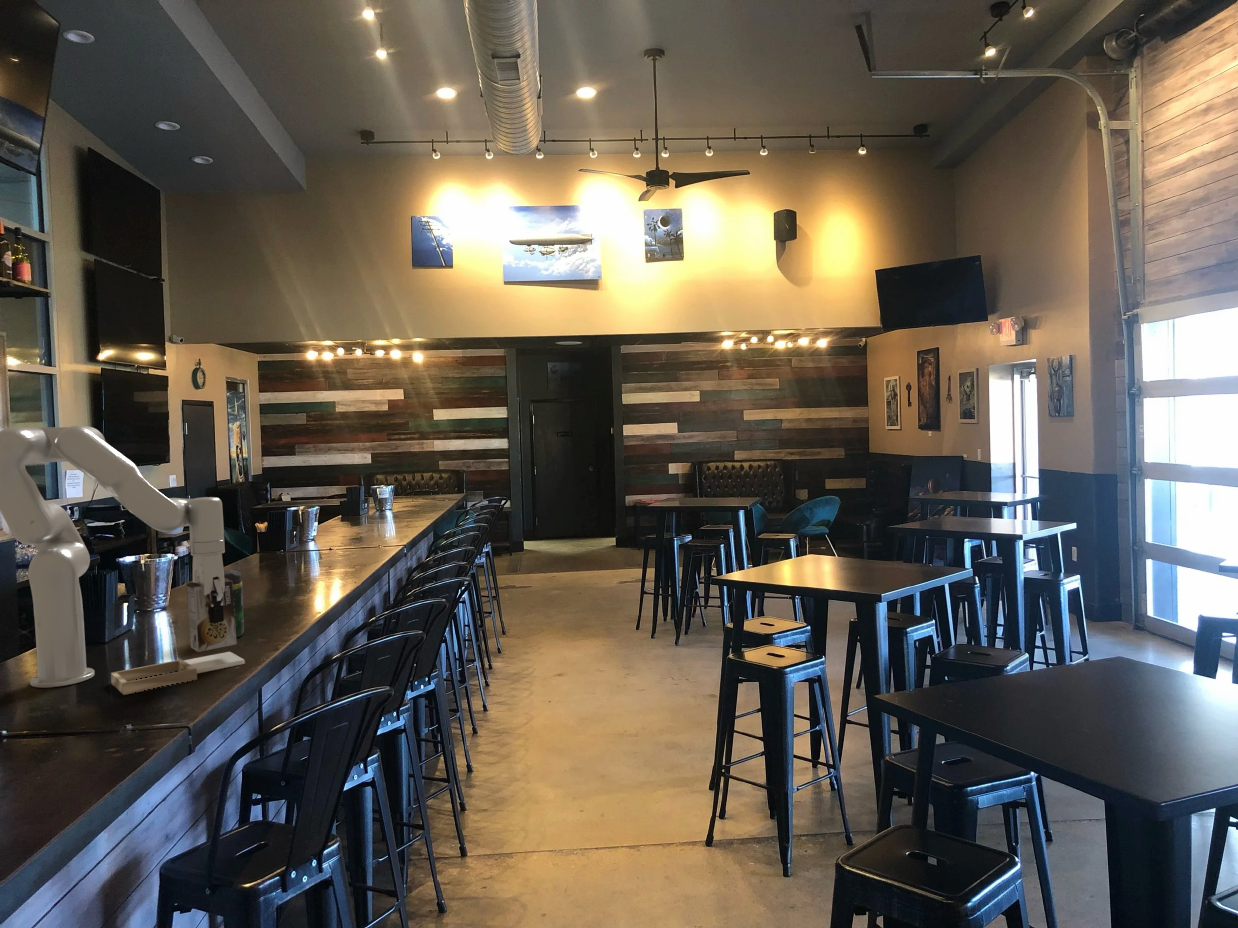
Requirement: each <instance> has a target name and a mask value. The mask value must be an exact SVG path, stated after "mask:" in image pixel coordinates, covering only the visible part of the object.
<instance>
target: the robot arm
mask: <svg viewBox="0 0 1238 928" xmlns="http://www.w3.org/2000/svg"><path fill="white" fill-rule="evenodd" d="M57 462H58V463H65V462H66V463H67V462H68V464H70V465H72V466H73V467H75V468H76V469H77V470H79V471H80V472H82V473H83V474H84V475H86V476H87V477H89V479H91V480H92V481H94V482H95V483H96V484H98V485H99V486H100V487H102V488H103V489H104V490H106V491H107V492H108V493H109V494H110V496H112V497H113V498H114V500H116V501H117V502H118V503H119V504H120V505H122V506H123V507H124V508H125V509H126V510H128V511H129V512H130V513H131V514H133V515H134V516H135V517H137V519H139V520H141V521H142V522H144V524H146V525H147V526H149V527H150V528H152V529H153V530H156V531H157V532H158V531H159V532H161V533H169V532H173V531H176V530H178V529H180V528H183V527H189V528H188V529H189V541H190V542H189V543H190V545H189V546H190V555H191V556H192V583H193V582H195V583H198V584H199V585H201V586H202V595H203V596H207V594H209V603H210V607H208V608H209V622H210V623H217V622H223V621H224V613H223V600H222V599H223V597H222V596H223V592H224V591H225V580H224V570H225V569H224V563H223V562H224V561H223V554H224V553H225V552H226V548H225V546H226V545H225V529H224V514H223V513H224V512H223V511H224V510H223V502H222V499H220V498H219V497H215V496H209V497H208V496H205V497H204V496H203V497H196V498H182V497H180V498H179V497H169V498H168V497H167V496H165V495H164V494H163V493H162V492H160V491H159V490H158V489H156V488H155V487H154V486H153V485H151V484H150V482H148V481H147V480H146V479H145V478H144V476H143V475H142V474H141V472H140V470H139V468H138V466H137V465H136V463H134V462H133V461H132V460H131V459H129V458H128V457H126V456H125V454H123V453H121V452H120V451H118V450H117V449H116V448H114V447H113V446H111V445H110V444H109V443H108V442H107V441H106V438H105V437H104V435H103V433H102V432H100V430H98V429H97V428H95V427H92V426H89V425H73V426H61V427H60V426H58V427H50V426H49V427H48V426H47V427H26V426H25V427H22V426H20V427H19V426H17V427H15V426H14V427H8V428H5V429H4V428H3V429H2V430H0V514H1V516H2V517H3V519H4V522H5V523H6V525H7V527H8V529H9V530H10V533H11V534H12V536H13V537H14V538H15V540H16V541H18V542H20V543H21V544H23V545H27V546H34V547H35V549H36V551H37V553H36V554H35V555H34V556H33V558H32V559H31V560H30V563H29V566H28V581H29V586H30V591H31V596H32V604H33V617H34V628H35V643H36V644H35V645H36V646H35V647H36V660H37V675H34V677H32V678H31V679H30V682H29V683H30V686H32V687H33V688H45V689H46V688H47V689H48V688H56V687H58V688H59V687H64V686H69V685H74V684H78V683H82V682H84V681H87V680H89V679H91V678H93V677H94V676H95V670H94V669H93V668H91V667H87V653H86V640H85V639H86V638H85V636H86V635H85V621H84V618H85V617H84V610H83V609H84V608H83V606H84V605H83V596H82V590H81V586H80V579H79V578H80V577H81V576H83V575H84V574H85V573H86V572H87V570H88V569H89V568H90V563H91V558H90V557H91V556H90V553H89V550H88V549H87V546H86V545H85V542H84V541H83V538H82V537H81V535H80V533H79V531H78V529H77V528H76V526H75V525H74V522H73V520H72V519H71V516H70V515H69V514H68V513H67V511H66V510H65V509H64V508H63V507H62V506H61V505H59V504H57V503H56V502H51V501H46V500H45V499H44V497H43V496H42V494H41V492H40V490H39V488H38V486H37V484H36V483H35V480H33V478H32V476H31V475H30V474H29V473H28V470H27V469H26V465H27V464H35V463H37V464H38V463H57ZM213 590H215V592H216V593H213V594H211V591H213ZM214 596H216V597H214ZM212 597H214V598H213V599H212Z"/></svg>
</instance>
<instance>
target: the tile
mask: <svg viewBox="0 0 1238 928" xmlns="http://www.w3.org/2000/svg"><path fill="white" fill-rule="evenodd" d="M183 661H185V662H186V663H188V664H190V665H191V666H193V667H194V668H196V669H197V674H201V673H207V672H211V671H217V670H221V669H224V668H230V667H235V666H240V665H245V664H246V661H245V659H244V658H242V657H241V656H238V655H237V654H235V653H233V652H231V651H226V652H225V651H224V652H222V653H221V652H220V653H215V654H210V655H205V656H199V657H194V658H190V659H185V660H183Z"/></svg>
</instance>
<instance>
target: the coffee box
mask: <svg viewBox="0 0 1238 928" xmlns="http://www.w3.org/2000/svg"><path fill="white" fill-rule="evenodd" d="M224 580H225V591H224V592H223V596H222V597H223V599H222V600H223V613H224V621H223V622H217V623H210V622H209V608H208V607H210V603H209V594H207V596H203V595H202V586H201V585H199V584H198V583H195V582H193V581H192V582H186V591H187V593H186V594H187V606H188V607H187V609H188V621H189V623H188V626H189V636H190V637H189V640H190V648H191V649H193V651H194V650H195V651H196V652H198V653H202V652H205V651H206V652H207V651H211V650H215V649H219V648H225V647H230V646H233V645H234V646H235V645H237V643H238V642H237V637H236V627H235V613H234V599H233V584H232V581H231V580H229V579H226V578H224ZM213 593H216V592H215V590H213V591H211V594H213ZM214 597H216V596H214ZM214 597H212V599H213V598H214Z"/></svg>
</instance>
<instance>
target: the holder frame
mask: <svg viewBox="0 0 1238 928" xmlns="http://www.w3.org/2000/svg"><path fill="white" fill-rule="evenodd" d="M174 671H177V672H174ZM169 672H172V673H169ZM163 673H167V674H163ZM159 674H162V675H159ZM154 675H157V676H154ZM150 676H152V677H150ZM145 677H147V678H145ZM140 678H142V679H140ZM136 679H137V680H136ZM192 680H193V681H196V680H198V673H197V669H196V668H194V667H193V666H191V665H190V664H188V663H186V662H185V661H184V660H183V659H182V658H181V659H176V660H171V661H166V662H161V663H155V664H150V665H145V666H140V667H133V668H128V669H123V670H118V671H114V672H113V671H112V672H111V673H110V681H111V685H112V686H113V687H115V688H116V689H117V690H118V692H120V693H121V694H122V695H123V696H125V695H129V694H135V692H136V693H140V692H145V691H149V690H148V689H150V690H154V689H153V688H155V689H157V687H160V688H162V687H161V686H164V687H167V686H166V685H169V686H172V685H171V684H174V685H177V684H176V683H179V684H182V683H181V682H184V683H187V681H188V682H192ZM144 690H145V691H144Z"/></svg>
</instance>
